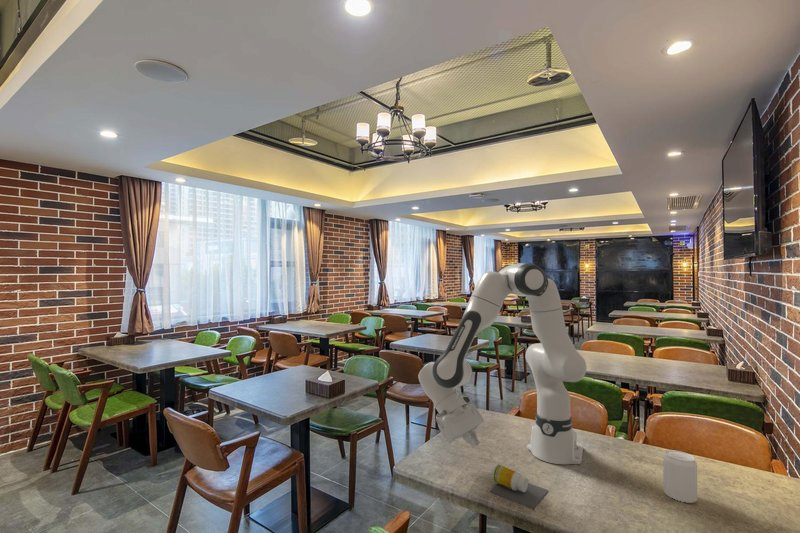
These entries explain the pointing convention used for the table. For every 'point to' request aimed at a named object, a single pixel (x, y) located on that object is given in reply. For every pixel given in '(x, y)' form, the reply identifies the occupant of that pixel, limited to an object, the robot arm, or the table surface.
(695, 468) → the beverage can
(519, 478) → the supplement bottle
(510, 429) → the table surface
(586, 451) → the table surface
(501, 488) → the rubber mat
